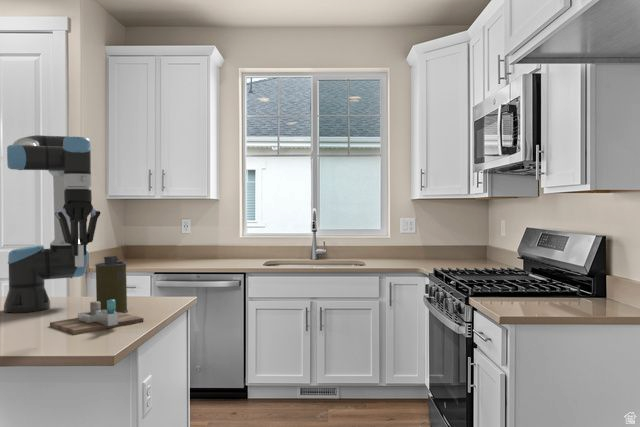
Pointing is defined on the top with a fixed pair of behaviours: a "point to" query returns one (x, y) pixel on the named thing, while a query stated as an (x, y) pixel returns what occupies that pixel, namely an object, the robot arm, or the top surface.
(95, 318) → the square loop handle
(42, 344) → the top surface
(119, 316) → the board
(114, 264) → the canister
